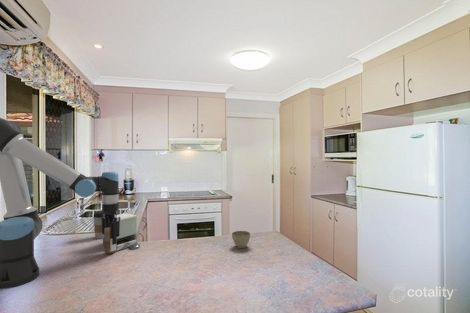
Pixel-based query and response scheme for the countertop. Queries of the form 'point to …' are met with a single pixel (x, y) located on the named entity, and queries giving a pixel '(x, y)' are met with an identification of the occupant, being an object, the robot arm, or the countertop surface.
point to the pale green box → (126, 227)
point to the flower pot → (241, 238)
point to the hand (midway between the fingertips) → (110, 249)
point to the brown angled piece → (107, 242)
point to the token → (134, 246)
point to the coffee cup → (98, 224)
